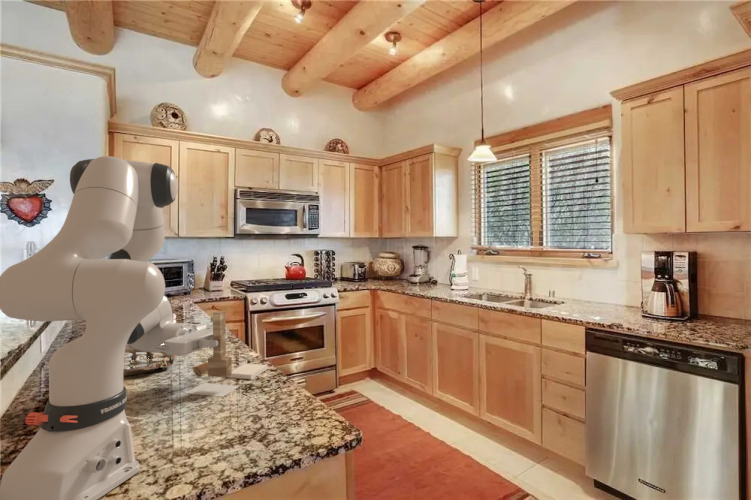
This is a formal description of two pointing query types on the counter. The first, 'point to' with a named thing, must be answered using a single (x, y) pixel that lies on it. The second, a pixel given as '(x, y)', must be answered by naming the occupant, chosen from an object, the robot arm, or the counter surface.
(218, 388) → the rest mat
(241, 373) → the slab tile
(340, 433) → the counter surface
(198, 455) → the counter surface
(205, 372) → the shard
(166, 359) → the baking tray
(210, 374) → the stacked wooden blocks
